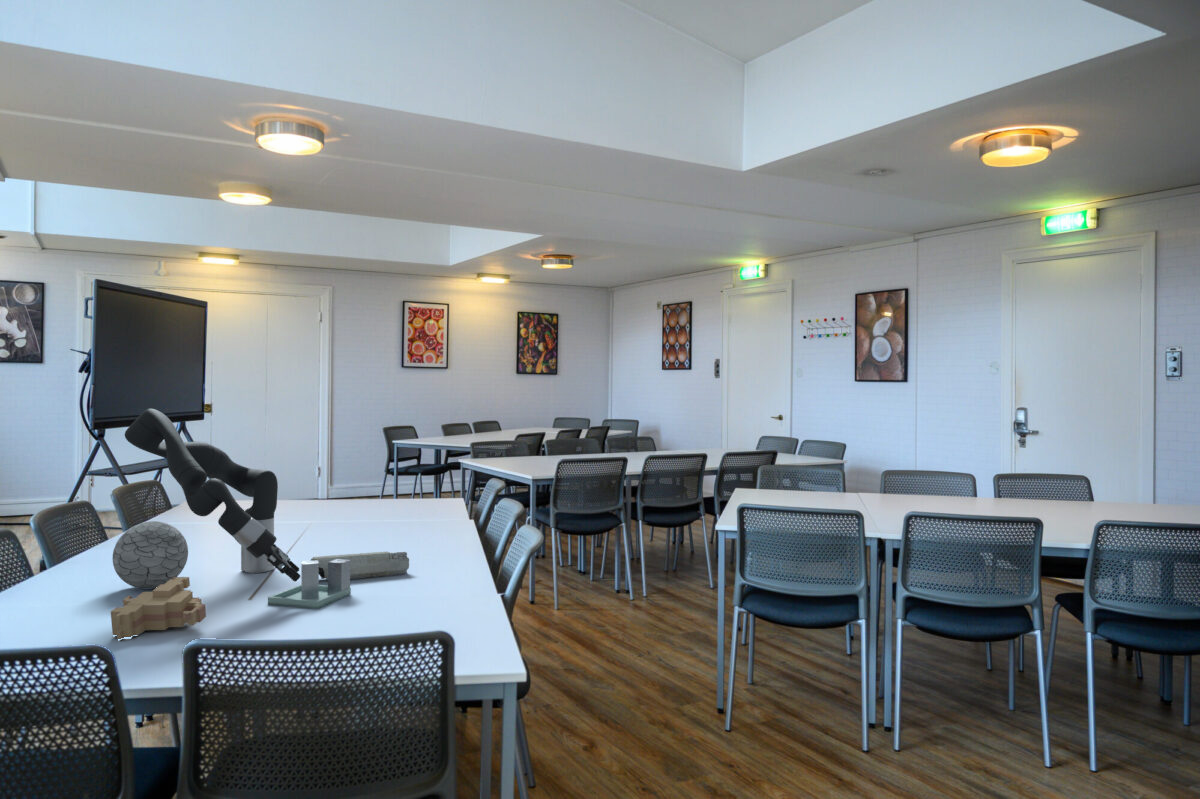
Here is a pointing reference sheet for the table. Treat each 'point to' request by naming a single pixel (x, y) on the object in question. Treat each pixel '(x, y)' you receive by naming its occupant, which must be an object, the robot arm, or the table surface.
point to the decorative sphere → (150, 554)
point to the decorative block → (368, 564)
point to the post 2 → (338, 575)
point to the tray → (295, 600)
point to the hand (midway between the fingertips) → (297, 575)
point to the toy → (158, 609)
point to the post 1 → (309, 579)
